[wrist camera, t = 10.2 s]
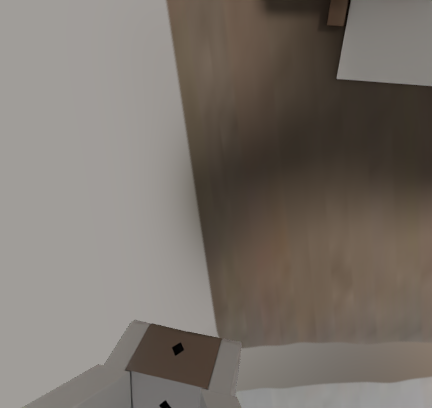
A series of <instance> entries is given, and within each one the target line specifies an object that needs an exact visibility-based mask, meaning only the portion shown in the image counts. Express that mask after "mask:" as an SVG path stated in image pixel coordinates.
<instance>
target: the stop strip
mask: <svg viewBox="0 0 432 408" xmlns="http://www.w3.org/2000/svg"><path fill="white" fill-rule="evenodd" d="M347 5H348V0H331V1H330V7H329V13H328V20H327V25H328V26H344V21H345V16H346V10H347Z"/></svg>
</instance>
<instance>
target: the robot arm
mask: <svg viewBox="0 0 432 408" xmlns="http://www.w3.org/2000/svg"><path fill="white" fill-rule="evenodd" d="M241 347H242V343H241V342H238V341H233V340H228V339H222V338H217V337H212V336H207V335H202V334H197V333H192V332H186V331H181V330H177V329H173V328H169V327H165V326H161V325H156V324H150V323H146V322H141V321H137V320H134V321H133V322H132V323H130V324H129V326H128V328H127V329H126V331H125V333H124V334H123V336H122V337H121V339H120V340H119V342H118V343H117V345H116V347H115V348H114V350H113V351H112V353H111V355H110V356H109V358H108V359H107V361H106V363H105V364H104V365H99V364H98V365H96V366H94V367H93V368H91V369H89V370H88V371H86V372H84V373H82V374H80V375H79V376H77V377H75V378H73V379H72V380H70V381H68V382H66V383H64V384H63V385H61V386H59V387H57V388H56V389H54V390H52V391H50V392H49V393H47V394H45V395H44V396H42V397H40V398H38V399H36V400H35V401H33V402H31V403H29V404H27V405H26V406H24V407H22V408H241V406H240V403H239V401H238V399H237V397H235V393H236V386H237V379H238V372H239V364H240V355H241Z"/></svg>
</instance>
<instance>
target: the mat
mask: <svg viewBox="0 0 432 408" xmlns="http://www.w3.org/2000/svg"><path fill="white" fill-rule="evenodd" d="M336 79H345V80H358V81H371V82H384V83H397V84H410V85H423V86H432V0H351V1H350V7H349V12H348V18H347V23H346V29H345V34H344V40H343V45H342V51H341V56H340V61H339V67H338V72H337V78H336Z"/></svg>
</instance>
